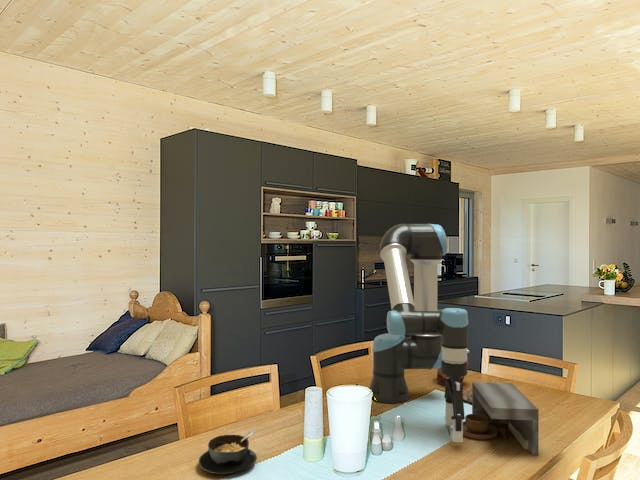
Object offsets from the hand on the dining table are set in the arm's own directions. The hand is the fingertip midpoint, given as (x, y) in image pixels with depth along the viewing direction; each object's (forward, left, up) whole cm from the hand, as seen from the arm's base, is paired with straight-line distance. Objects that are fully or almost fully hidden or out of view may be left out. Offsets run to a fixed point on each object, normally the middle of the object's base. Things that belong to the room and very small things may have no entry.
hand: (453, 432), depth 150 cm
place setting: (+8, +8, -2) cm, 11 cm away
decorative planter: (+9, +56, -1) cm, 57 cm away
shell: (+10, +31, -2) cm, 33 cm away
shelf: (+14, +1, -1) cm, 14 cm away
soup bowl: (-61, -24, -2) cm, 66 cm away
